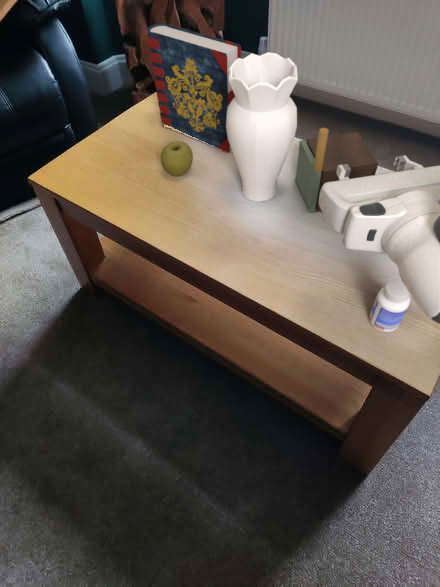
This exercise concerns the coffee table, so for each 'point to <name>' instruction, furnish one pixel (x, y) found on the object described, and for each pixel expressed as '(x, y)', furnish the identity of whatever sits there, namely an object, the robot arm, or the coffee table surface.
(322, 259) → the coffee table surface
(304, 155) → the cupboard door
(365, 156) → the cupboard
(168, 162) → the apple
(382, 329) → the pill bottle
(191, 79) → the book
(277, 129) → the vase
